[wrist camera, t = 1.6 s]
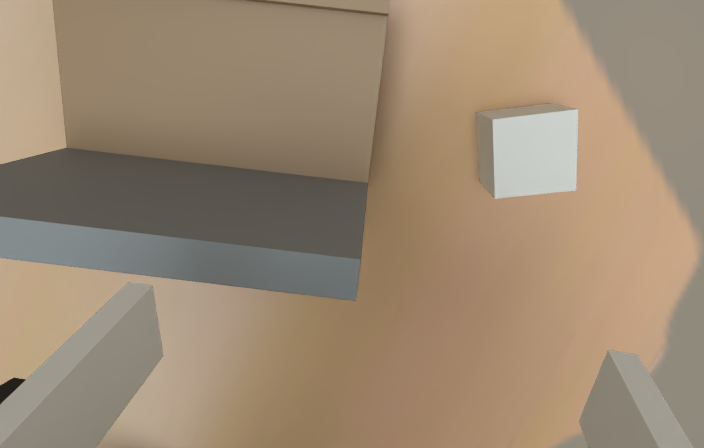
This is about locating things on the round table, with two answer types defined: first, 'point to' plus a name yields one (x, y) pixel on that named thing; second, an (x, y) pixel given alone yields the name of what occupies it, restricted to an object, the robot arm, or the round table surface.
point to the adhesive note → (527, 150)
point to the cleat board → (207, 143)
